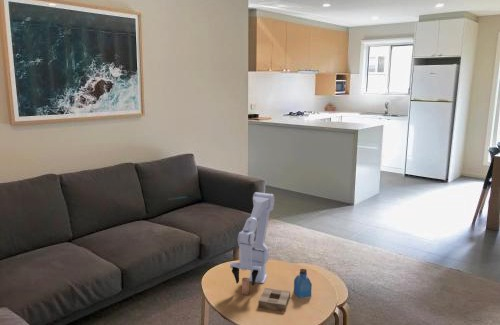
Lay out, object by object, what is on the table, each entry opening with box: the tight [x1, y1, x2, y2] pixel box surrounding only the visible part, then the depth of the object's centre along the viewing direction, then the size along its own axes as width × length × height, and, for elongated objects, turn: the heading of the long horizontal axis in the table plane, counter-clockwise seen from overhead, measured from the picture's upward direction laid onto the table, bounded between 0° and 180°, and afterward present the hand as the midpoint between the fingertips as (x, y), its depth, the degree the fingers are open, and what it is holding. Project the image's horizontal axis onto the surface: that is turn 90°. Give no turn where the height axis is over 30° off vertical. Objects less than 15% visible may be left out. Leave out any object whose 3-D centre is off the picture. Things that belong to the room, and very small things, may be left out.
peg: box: [241, 277, 250, 296], centre depth 187 cm, size 3×3×7 cm
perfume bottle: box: [293, 268, 312, 299], centre depth 187 cm, size 6×6×12 cm
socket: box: [258, 287, 291, 312], centre depth 180 cm, size 12×12×3 cm
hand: (245, 283), depth 187 cm, fingers open, 7 cm apart
